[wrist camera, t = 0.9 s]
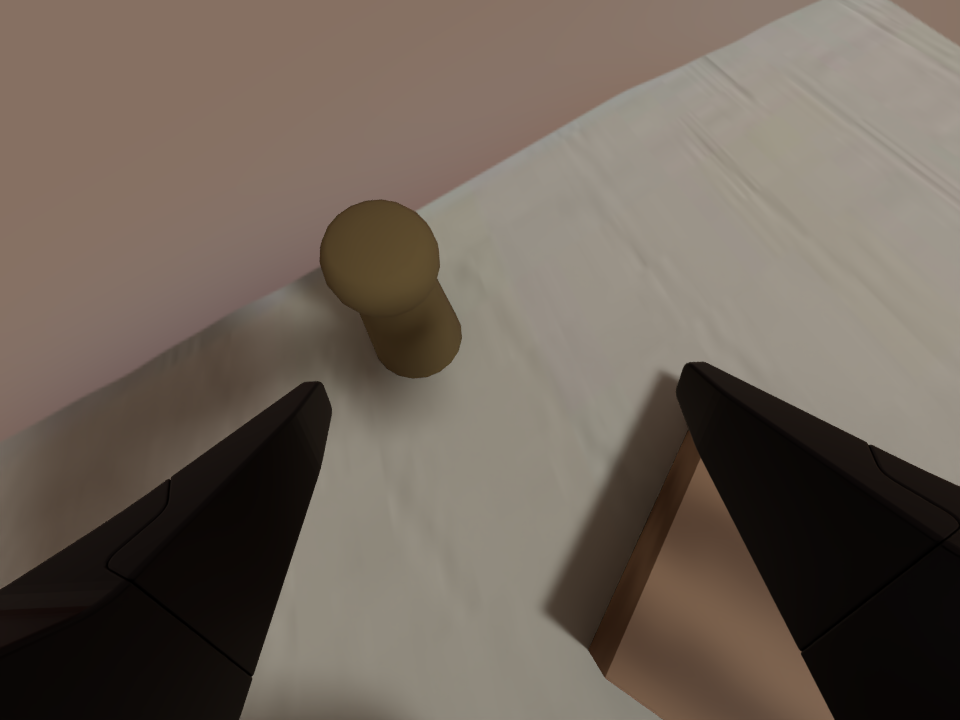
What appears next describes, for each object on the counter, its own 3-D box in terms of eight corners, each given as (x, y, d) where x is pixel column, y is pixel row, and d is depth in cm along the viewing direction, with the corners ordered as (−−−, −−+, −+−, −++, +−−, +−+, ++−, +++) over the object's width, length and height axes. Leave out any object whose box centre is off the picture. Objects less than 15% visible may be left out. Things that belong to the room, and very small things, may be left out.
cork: (381, 388, 25) (303, 318, 14) (367, 307, 27) (289, 192, 16) (471, 366, 25) (459, 282, 15) (451, 287, 27) (428, 163, 16)
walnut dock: (951, 906, 17) (1046, 993, 14) (588, 650, 20) (605, 678, 17) (1013, 565, 21) (1096, 579, 18) (702, 397, 24) (731, 386, 21)
